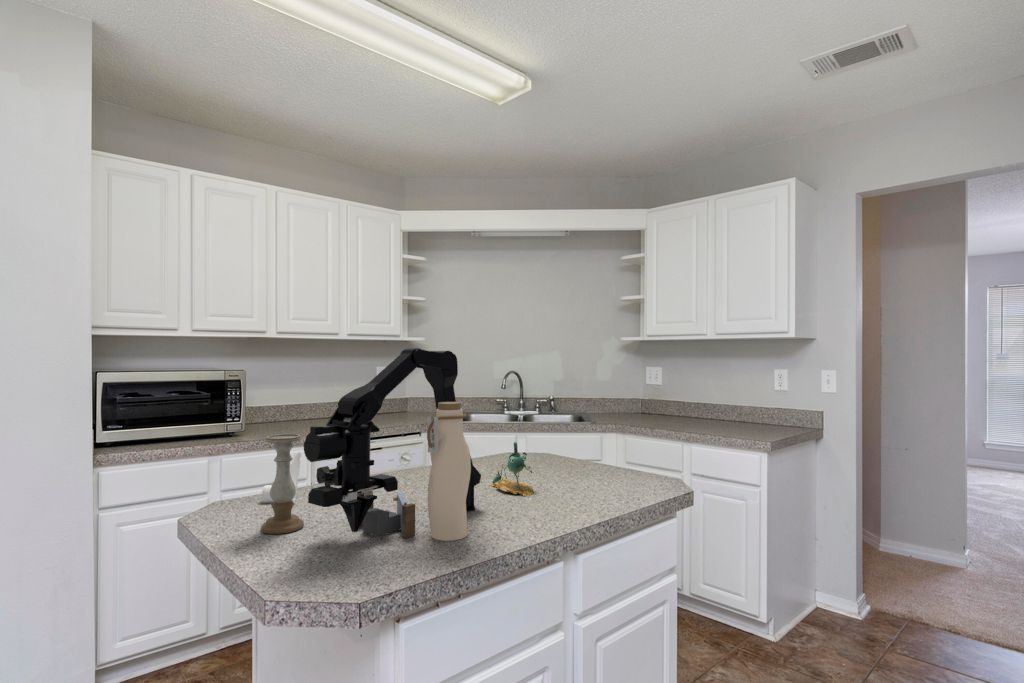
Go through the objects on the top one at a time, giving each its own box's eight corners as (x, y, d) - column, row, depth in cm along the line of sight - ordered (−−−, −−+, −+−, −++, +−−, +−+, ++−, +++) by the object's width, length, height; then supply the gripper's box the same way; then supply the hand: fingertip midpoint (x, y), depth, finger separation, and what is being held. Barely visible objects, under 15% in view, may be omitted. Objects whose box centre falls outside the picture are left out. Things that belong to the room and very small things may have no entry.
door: (407, 532, 118) (407, 504, 118) (397, 533, 117) (397, 505, 117) (402, 518, 128) (402, 492, 128) (392, 519, 128) (393, 493, 128)
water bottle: (449, 547, 110) (449, 406, 110) (415, 539, 115) (415, 403, 115) (479, 532, 118) (479, 402, 119) (446, 526, 123) (446, 400, 124)
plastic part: (261, 504, 142) (261, 459, 142) (273, 494, 152) (273, 452, 152) (292, 503, 143) (292, 458, 143) (302, 493, 153) (302, 451, 153)
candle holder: (260, 537, 116) (261, 440, 117) (261, 525, 124) (262, 434, 125) (305, 531, 120) (305, 437, 120) (302, 520, 128) (303, 432, 128)
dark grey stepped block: (400, 530, 121) (400, 508, 121) (377, 537, 116) (377, 514, 116) (386, 525, 124) (386, 504, 124) (363, 532, 119) (363, 510, 120)
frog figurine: (511, 482, 167) (515, 434, 166) (545, 502, 151) (549, 449, 150) (483, 485, 162) (487, 436, 161) (515, 507, 146) (519, 452, 145)
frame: (415, 535, 117) (415, 502, 117) (406, 538, 115) (406, 505, 115) (366, 522, 126) (366, 492, 127) (357, 524, 124) (358, 494, 125)
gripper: (366, 446, 127) (365, 514, 126) (292, 457, 112) (291, 535, 111) (400, 451, 120) (399, 523, 120) (326, 463, 105) (324, 546, 105)
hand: (354, 531), depth 114 cm, fingers closed
